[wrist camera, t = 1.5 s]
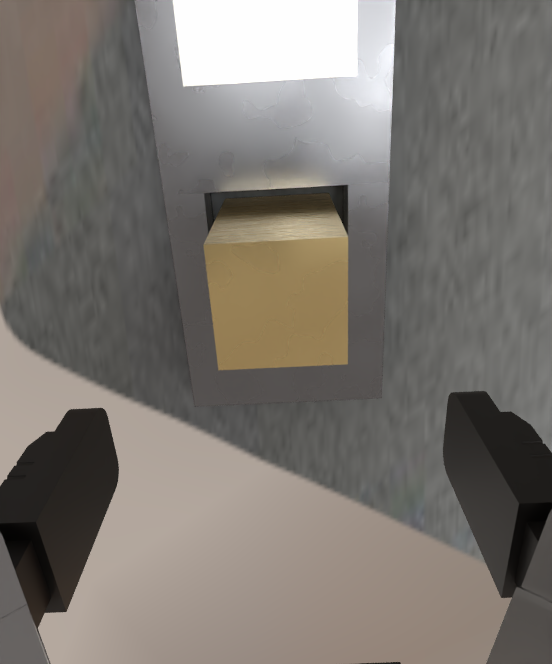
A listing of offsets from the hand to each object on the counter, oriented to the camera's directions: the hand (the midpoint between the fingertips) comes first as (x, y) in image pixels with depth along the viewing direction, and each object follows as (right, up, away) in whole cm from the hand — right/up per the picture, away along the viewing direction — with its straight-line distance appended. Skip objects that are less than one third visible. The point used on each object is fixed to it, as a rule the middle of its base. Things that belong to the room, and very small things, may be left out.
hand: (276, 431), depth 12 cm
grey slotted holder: (0, +10, +12) cm, 16 cm away
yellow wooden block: (0, +7, +14) cm, 16 cm away
